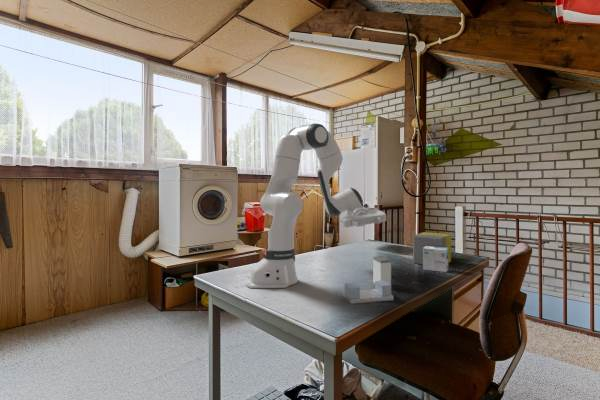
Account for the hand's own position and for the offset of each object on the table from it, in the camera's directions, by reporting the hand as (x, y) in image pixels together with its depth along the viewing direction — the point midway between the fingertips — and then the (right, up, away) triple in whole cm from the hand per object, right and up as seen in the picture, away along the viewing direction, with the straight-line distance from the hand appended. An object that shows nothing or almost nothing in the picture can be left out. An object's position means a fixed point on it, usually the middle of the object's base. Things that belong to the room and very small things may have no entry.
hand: (368, 223), depth 137 cm
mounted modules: (-6, -24, -24) cm, 35 cm away
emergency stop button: (+42, -23, +30) cm, 57 cm away
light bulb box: (+36, -24, +13) cm, 45 cm away
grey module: (+3, -25, -9) cm, 27 cm away
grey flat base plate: (-6, -25, -24) cm, 36 cm away
